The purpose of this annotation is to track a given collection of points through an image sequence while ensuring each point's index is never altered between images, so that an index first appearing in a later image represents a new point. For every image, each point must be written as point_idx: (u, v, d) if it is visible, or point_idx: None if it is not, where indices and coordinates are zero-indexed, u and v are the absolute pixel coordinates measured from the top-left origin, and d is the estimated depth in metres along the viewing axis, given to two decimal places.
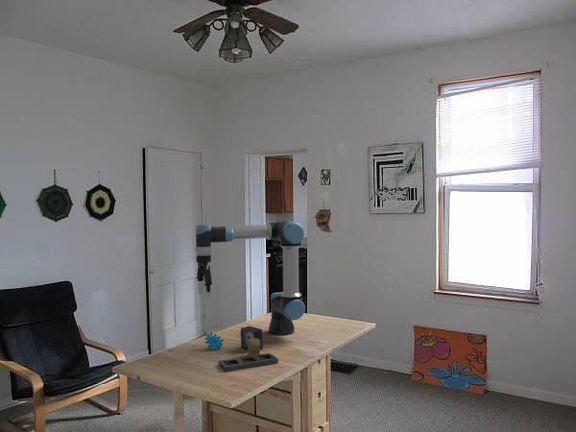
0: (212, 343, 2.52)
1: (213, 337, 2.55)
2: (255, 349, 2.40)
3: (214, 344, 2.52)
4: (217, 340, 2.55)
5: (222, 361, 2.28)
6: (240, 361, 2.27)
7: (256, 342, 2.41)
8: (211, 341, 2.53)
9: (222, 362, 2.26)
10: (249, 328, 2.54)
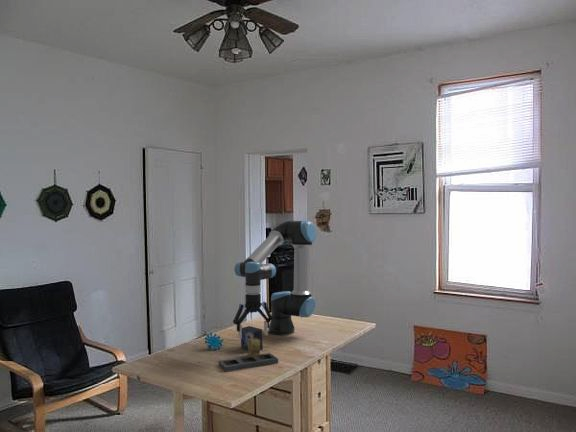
0: (212, 343, 2.52)
1: (213, 337, 2.56)
2: (255, 349, 2.40)
3: (214, 344, 2.53)
4: (217, 340, 2.56)
5: (222, 361, 2.28)
6: (240, 361, 2.27)
7: (256, 342, 2.41)
8: (211, 341, 2.53)
9: (222, 362, 2.26)
10: (249, 328, 2.54)
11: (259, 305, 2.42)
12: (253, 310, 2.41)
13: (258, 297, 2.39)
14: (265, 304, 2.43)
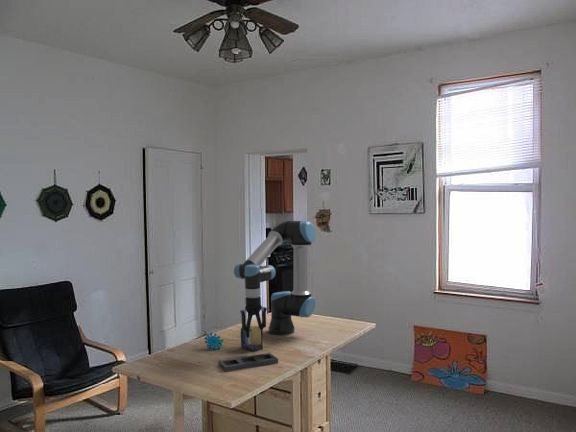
0: (211, 343, 2.53)
1: (213, 337, 2.56)
2: (256, 337, 2.41)
3: (213, 344, 2.53)
4: (217, 340, 2.56)
5: (222, 361, 2.28)
6: (240, 361, 2.27)
7: (257, 330, 2.41)
8: (210, 341, 2.53)
9: (222, 362, 2.26)
10: None
11: (259, 308, 2.42)
12: (254, 313, 2.41)
13: (258, 300, 2.39)
14: (265, 309, 2.43)
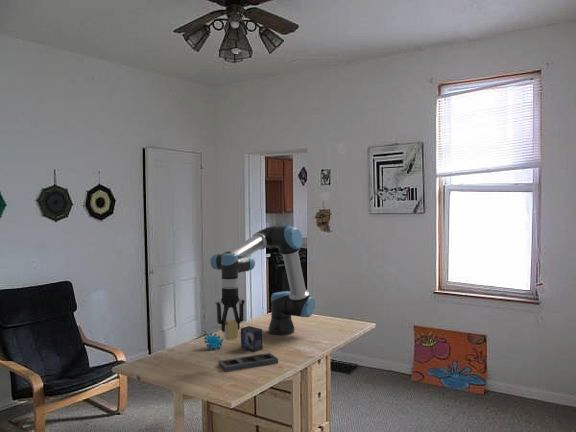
0: (211, 343, 2.53)
1: (213, 337, 2.56)
2: (232, 331, 2.23)
3: (213, 344, 2.53)
4: (217, 340, 2.56)
5: (222, 361, 2.28)
6: (240, 361, 2.27)
7: (233, 324, 2.24)
8: (210, 341, 2.54)
9: (222, 362, 2.26)
10: (249, 328, 2.54)
11: (237, 300, 2.25)
12: (230, 305, 2.24)
13: (235, 291, 2.22)
14: (242, 302, 2.26)
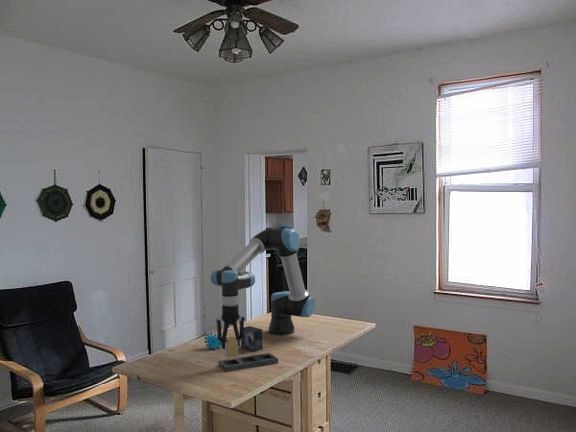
0: (211, 343, 2.53)
1: (213, 337, 2.56)
2: (232, 349, 2.24)
3: (213, 344, 2.53)
4: (217, 340, 2.56)
5: (222, 361, 2.28)
6: (240, 361, 2.27)
7: (233, 341, 2.24)
8: (210, 340, 2.54)
9: (222, 362, 2.26)
10: (249, 328, 2.54)
11: (237, 317, 2.25)
12: (230, 322, 2.24)
13: (235, 308, 2.23)
14: (243, 319, 2.27)
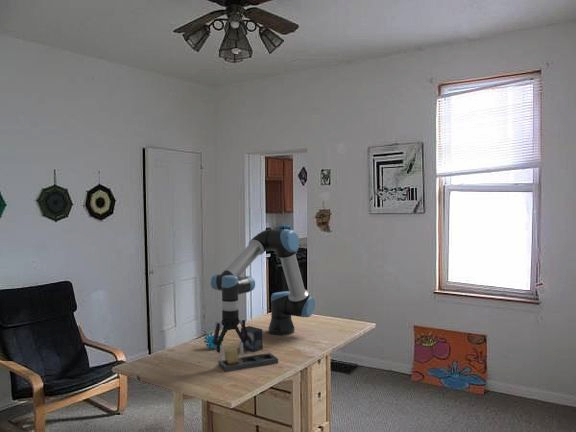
0: (211, 342, 2.53)
1: (213, 336, 2.56)
2: (232, 360, 2.24)
3: (213, 344, 2.53)
4: None
5: (222, 361, 2.28)
6: (240, 361, 2.27)
7: (234, 353, 2.24)
8: (210, 340, 2.54)
9: (222, 362, 2.26)
10: (249, 328, 2.54)
11: (237, 322, 2.26)
12: (230, 327, 2.24)
13: (236, 313, 2.23)
14: (243, 322, 2.27)
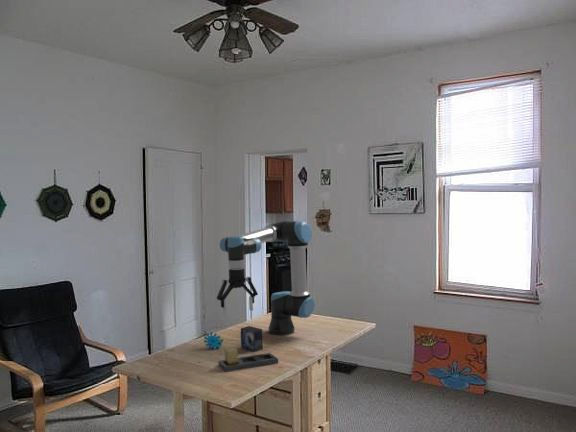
0: (211, 342, 2.53)
1: (213, 336, 2.57)
2: (232, 360, 2.24)
3: (213, 343, 2.53)
4: (216, 340, 2.56)
5: (222, 361, 2.28)
6: (240, 361, 2.27)
7: (234, 353, 2.24)
8: (210, 340, 2.54)
9: (222, 362, 2.26)
10: (249, 328, 2.54)
11: (243, 280, 2.36)
12: (237, 285, 2.35)
13: (242, 272, 2.33)
14: (249, 279, 2.37)
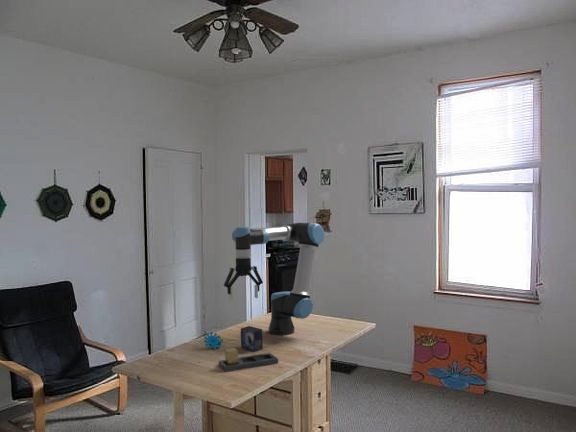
0: (210, 342, 2.54)
1: (212, 336, 2.57)
2: (232, 360, 2.24)
3: (212, 343, 2.54)
4: (216, 339, 2.56)
5: (222, 361, 2.28)
6: (240, 361, 2.27)
7: (234, 353, 2.24)
8: (210, 340, 2.54)
9: (222, 362, 2.26)
10: (249, 328, 2.54)
11: (249, 269, 2.48)
12: (243, 273, 2.46)
13: (248, 261, 2.45)
14: (255, 268, 2.49)
